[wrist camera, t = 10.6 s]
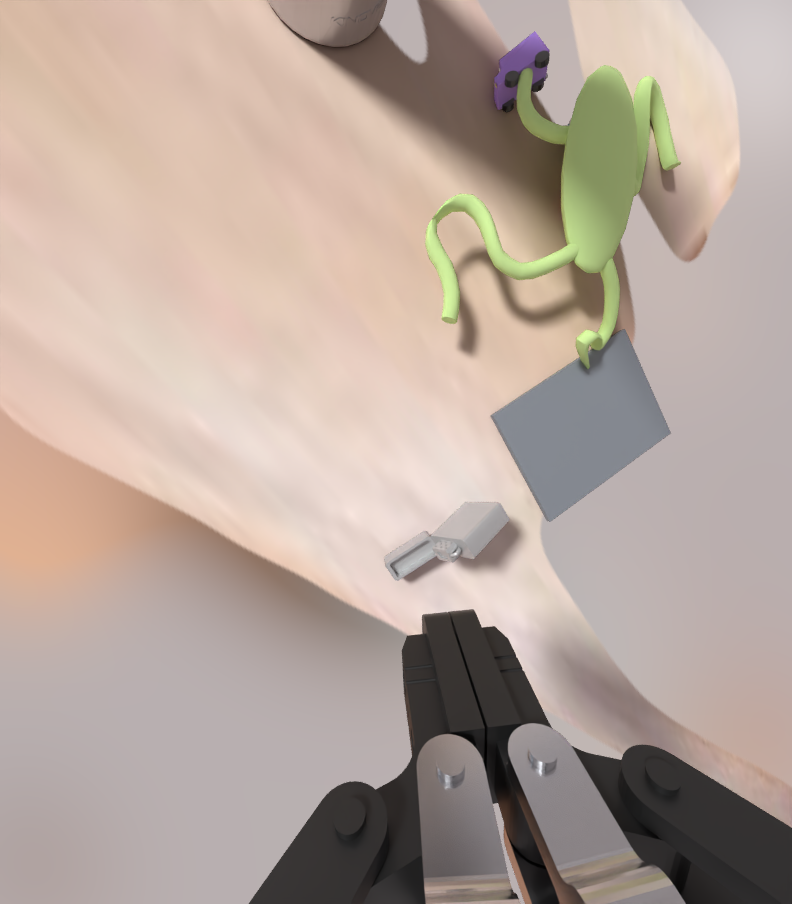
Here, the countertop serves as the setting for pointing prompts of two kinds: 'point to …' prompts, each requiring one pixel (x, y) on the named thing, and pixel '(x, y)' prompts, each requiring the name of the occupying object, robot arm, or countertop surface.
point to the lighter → (450, 538)
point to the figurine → (572, 177)
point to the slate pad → (582, 425)
